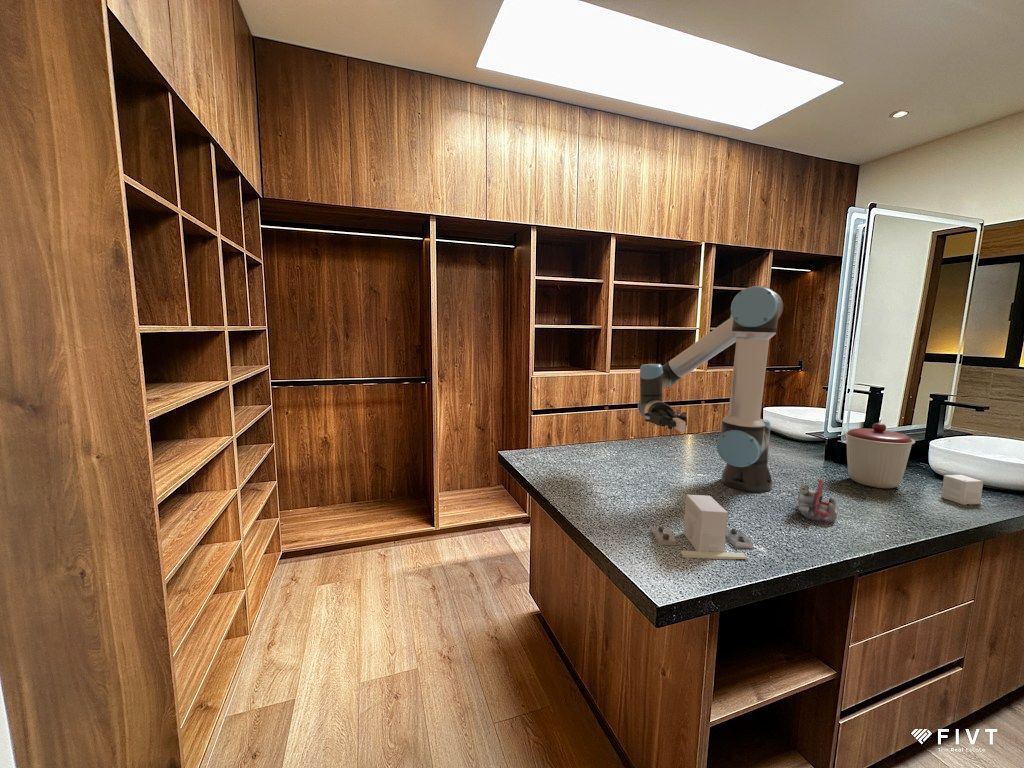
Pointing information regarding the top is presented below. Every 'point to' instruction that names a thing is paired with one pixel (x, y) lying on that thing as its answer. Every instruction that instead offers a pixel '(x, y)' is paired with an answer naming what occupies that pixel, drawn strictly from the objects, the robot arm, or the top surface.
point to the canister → (877, 456)
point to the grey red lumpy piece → (816, 504)
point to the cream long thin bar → (713, 555)
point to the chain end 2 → (738, 539)
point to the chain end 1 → (663, 536)
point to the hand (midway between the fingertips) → (682, 426)
